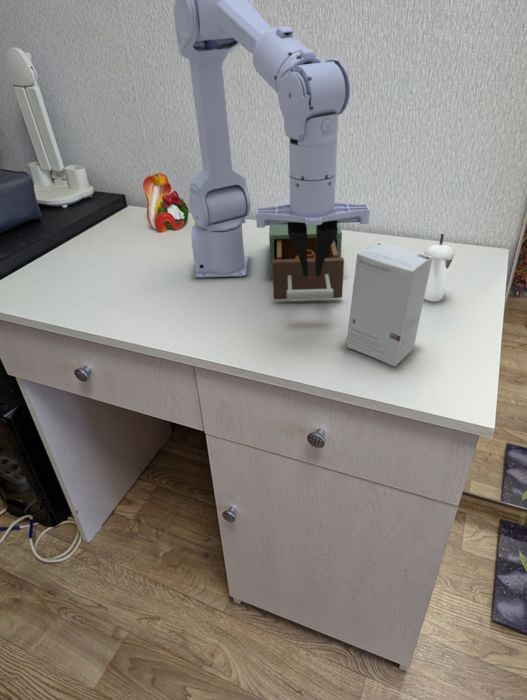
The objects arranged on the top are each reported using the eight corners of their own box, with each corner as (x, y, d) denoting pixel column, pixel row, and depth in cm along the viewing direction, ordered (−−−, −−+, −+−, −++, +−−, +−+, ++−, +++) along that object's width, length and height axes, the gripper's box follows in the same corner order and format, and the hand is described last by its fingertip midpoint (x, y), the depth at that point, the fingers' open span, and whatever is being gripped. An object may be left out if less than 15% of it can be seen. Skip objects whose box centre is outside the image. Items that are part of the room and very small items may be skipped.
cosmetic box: (345, 348, 72) (351, 253, 63) (366, 330, 75) (375, 238, 67) (398, 369, 67) (412, 270, 59) (418, 348, 71) (434, 252, 62)
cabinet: (339, 277, 90) (342, 232, 85) (271, 279, 90) (269, 235, 86) (332, 245, 102) (334, 204, 97) (271, 247, 102) (270, 206, 97)
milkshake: (447, 290, 84) (457, 234, 79) (445, 305, 80) (456, 248, 74) (419, 287, 86) (428, 232, 80) (416, 301, 82) (425, 245, 76)
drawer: (346, 319, 77) (348, 279, 73) (273, 321, 77) (271, 282, 73) (334, 262, 93) (335, 228, 89) (274, 264, 94) (273, 230, 90)
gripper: (253, 186, 58) (258, 288, 66) (376, 181, 58) (367, 285, 65) (255, 169, 64) (260, 265, 72) (367, 165, 63) (360, 262, 71)
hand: (311, 273), depth 69 cm, fingers closed
